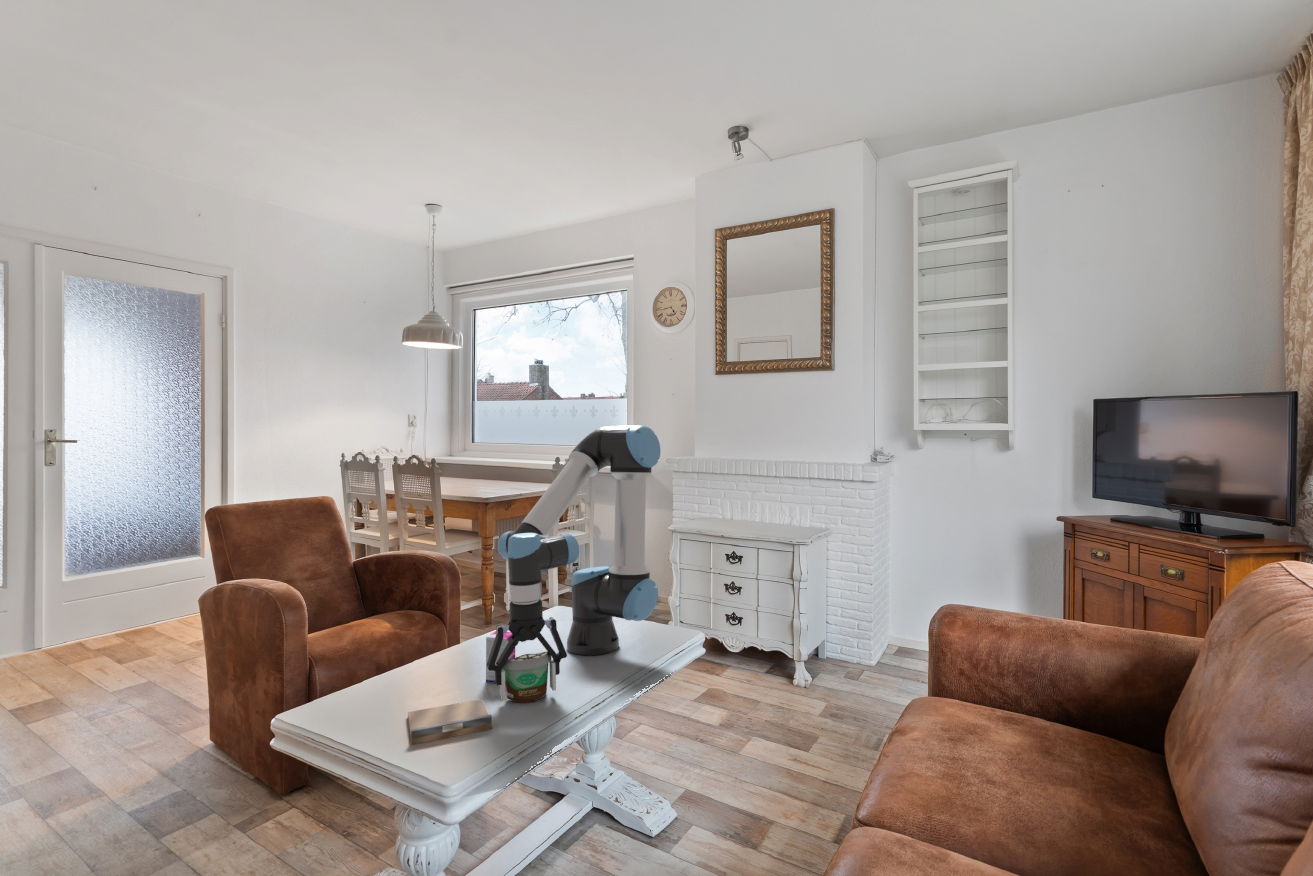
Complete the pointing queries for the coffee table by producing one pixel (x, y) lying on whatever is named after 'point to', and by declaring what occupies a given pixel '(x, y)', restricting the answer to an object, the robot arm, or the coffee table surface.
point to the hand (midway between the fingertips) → (528, 693)
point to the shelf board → (448, 721)
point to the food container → (527, 677)
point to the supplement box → (489, 643)
